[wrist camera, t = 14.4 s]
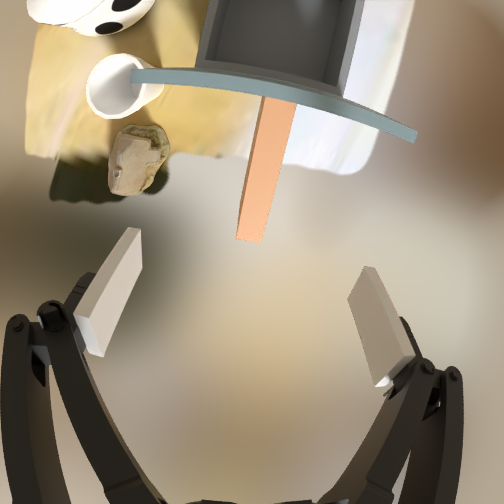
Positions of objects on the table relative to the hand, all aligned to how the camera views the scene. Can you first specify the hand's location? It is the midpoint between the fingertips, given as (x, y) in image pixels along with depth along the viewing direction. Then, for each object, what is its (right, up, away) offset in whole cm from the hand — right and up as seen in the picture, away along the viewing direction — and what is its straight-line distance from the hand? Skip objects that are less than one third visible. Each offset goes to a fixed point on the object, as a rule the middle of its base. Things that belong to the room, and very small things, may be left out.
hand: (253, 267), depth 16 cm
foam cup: (-18, +30, +23) cm, 42 cm away
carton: (+4, +37, +18) cm, 41 cm away
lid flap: (+2, +17, +7) cm, 19 cm away
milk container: (-23, +46, +12) cm, 53 cm away
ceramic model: (-21, +19, +31) cm, 42 cm away
